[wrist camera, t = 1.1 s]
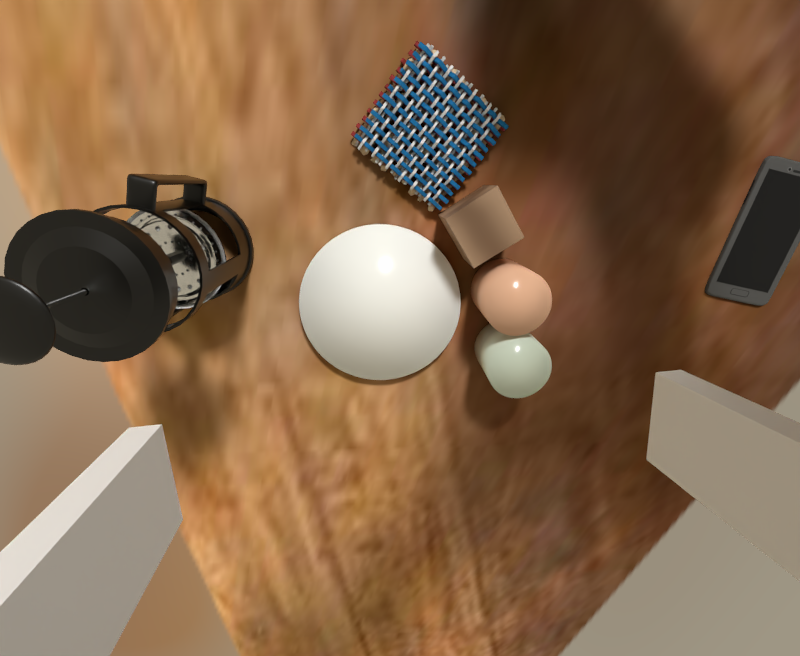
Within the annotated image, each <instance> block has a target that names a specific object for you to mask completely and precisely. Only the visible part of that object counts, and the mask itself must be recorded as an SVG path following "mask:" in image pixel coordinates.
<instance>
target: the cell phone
mask: <svg viewBox="0 0 800 656" xmlns="http://www.w3.org/2000/svg"><path fill="white" fill-rule="evenodd" d="M799 241H800V162H797V161H793V160H789V159H786V158H782V157H777V156H768V157H767V158H765V159H764V161H763V162H762V164H761V166H760V168H759V170H758V172H757V174H756V176H755V179H754V181H753V183H752V185H751V187H750V189H749V192H748V194H747V196H746V198H745V200H744V203H743V205H742V207H741V209H740V211H739V214H738V216H737V218H736V220H735V222H734V225H733V227H732V229H731V231H730V233H729V236H728V238H727V240H726V242H725V244H724V246H723V249H722V251H721V253H720V255H719V257H718V260H717V262H716V264H715V266H714V268H713V271H712V273H711V275H710V277H709V279H708V282H707V284H706V287H705V293H707V294H708V295H711V296H715V297H719V298H724V299H728V300H733V301H738V302H742V303H747V304H752V305H765V304H767V303H768V301H769V299H770V298H771V296H772V294H773V292H774V290H775V288H776V286H777V284H778V282H779V280H780V278H781V277H782V275H783V273H784V271H785V269H786V267H787V265H788V263H789V261H790V259H791V257H792V255H793V253H794V251H795V249H796V247H797V245H798V243H799Z"/></svg>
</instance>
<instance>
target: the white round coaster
mask: <svg viewBox="0 0 800 656" xmlns="http://www.w3.org/2000/svg"><path fill="white" fill-rule="evenodd" d="M460 305H461V300H460V290H459V285H458V281H457V278H456V275H455V273H454V271H453V269H452V267H451V265H450V263H449V262H448V260H447V259H446V257H445V256H444V255H443V254H442V252H441V251H440V250H439V249H438V248H437V247H436V246H435V245H434V244H433V243H432V242H430V241H429V240H428V239H427V238H425V237H423V236H422V235H420V234H419V233H416V232H414V231H412V230H410V229H407V228H404V227H401V226H397V225H390V224H369V225H363V226H359V227H355V228H352V229H350V230H347V231H345V232H343V233H341V234H339V235H338V236H336V237H334V238H333V239H332V240H330V241H329V242H328V243H327V244H326V245H325V246H324V247H323V248H322V249H321V250H320V251H319V252H318V253H317V254H316V256H315V257H314V258H313V260H312V261H311V263H310V264H309V266H308V268H307V270H306V272H305V275H304V277H303V280H302V284H301V288H300V296H299V310H300V316H301V321H302V324H303V327H304V330H305V333H306V335H307V337H308V339H309V340H310V342H311V343H312V345H313V346H314V348H315V349H316V350H317V352H318V353H319V354H320V355H321V356H322V357H323V358H324V359H325V360H326V361H328V362H329V363H330V364H332V365H333V366H334V367H336V368H338V369H339V370H341V371H343V372H345V373H348V374H350V375H353V376H356V377H360V378H364V379H371V380H389V379H396V378H400V377H404V376H407V375H410V374H412V373H415V372H417V371H419V370H420V369H422V368H424V367H425V366H427V365H428V364H430V363H431V362H432V361H433V360H434V359H436V358H437V357H438V356H439V355H440V354H441V352H442V351H443V350H444V349H445V348H446V346H447V345H448V343H449V342H450V340H451V338H452V336H453V334H454V332H455V329H456V327H457V324H458V320H459V315H460Z"/></svg>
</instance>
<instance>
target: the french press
mask: <svg viewBox="0 0 800 656" xmlns="http://www.w3.org/2000/svg"><path fill="white" fill-rule="evenodd" d="M178 184H184V192H183V197H181V198H177V199H175V200H170V201H159V202H156V196H157V187H158V185H178ZM206 190H207V181H205V180H202V179H198V178H194V177H190V176H186V175H157V174H129V175H128V178H127V198H126V204H121V205H110V206H107V207H103V208H99V209H96V210H95V211H87V210H79V209H68V210H55V211H52V212H48V213H45V214H41V215H39V216H37V217H35V218H34V219H32V220H30V221H28V222H27V223H26V224H25V225H24V226H23V227H21V229H19V230H18V231H17V233H16V234H15V236H14V237H13V239H12V240H11V242H10V244H9V247H8V250H7V254H6V256H5V269H4V275H5V277H3V276H0V363H4V364H11V365H23V364H29V363H33V362H36V361H38V360H40V359H42V358H43V357H44V356H45V355H47V354H48V353H49V351H50V350H51V348H52V347H55V348H56V349H58V350H60V351H63V352H65V353H67V354H69V355H72V356H75V357H79V358H82V359H86V360H91V361H100V362H108V361H119V360H123V359H127V358H131V357H133V356H135V355H137V354H139V353H141V352H143V351H145V350H146V349H147V348H149V347H150V346H151V345H152V344H154V343H155V342H156V341H157V340H158V338H159V337H160V336H161V335H162V333H163V332H166V331H169V330H171V329H173V328H175V327H177V326H179V325H181V324H182V323H183V322H185V321H186V320H188V319H189V318H190V317H191V316H192V315H194V314H195V313H196V312H197V311H198V309H199V308H200V307H201V305H202V304H203V303H205V302H207V301H208V300H211V299H214V298H216V297H218V296H220V295H222V294H224V293H227V292H229V291H231V290H233V289H234V288H236V287H237V286H238V285H239V284H241V283H242V282H243V280H244V279H245V278H246V276H247V275H248V273H249V271H250V269H251V266H252V261H253V244H252V239H251V236H250V233H249V231H248V229H247V227H246V225H245V224H244V222H243V220H242V219H241V218H240V217H239V216H238V215H237V213H236V212H234V211H233V210H232V209H231V208H230V207H228V206H227V205H225V204H223V203H222V202H220V201H218V200H215V199H212V198H209V197H206ZM118 208H131V209H138V210H140V211H138V212H136V213H135V214H134V215H133V216H131V217H130V218H129V219H128V220H127V221H124V220H121V219H117V218H114V217H109V216H106V215H103V214H105V213H107V212H109V211H111V210H114V209H118ZM191 210H199V211H205V212H208V213H211V214H213V215H215V216H217V217H218V218H220V219H221V220H222V221H223V222H224V223H225V224H226V225H227V226H228V227H229V229H230V231H231V232H232V234H233V236H234V238H235V241H236V244H237V248H238V255H237V256H235V257H233V258H231V259H229V260H227V261H226V255H225V251H224V248H223V246H222V243H221V241H220V239H219V238H218V236H217V235H216V233H215V231H214V230H213V229H212V228H211V227H210V226H209V225H208V224H207V222H205V221H204V220H203V219H202V218H200V217H199V216H198V215H196V214H194V213H192V212H191ZM191 307H193V308H192V310H191V311H190V312H189V313H188V315H187V316H186V317H185V318H184V319H182V320H180V321H178V322H176V323H173V324H169V325H167V324H168V321H169V320H170V319H171V317H172V316H174V315H175V314H177V313H179V312H180V311H182V310H183V309H185V308H191Z"/></svg>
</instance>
